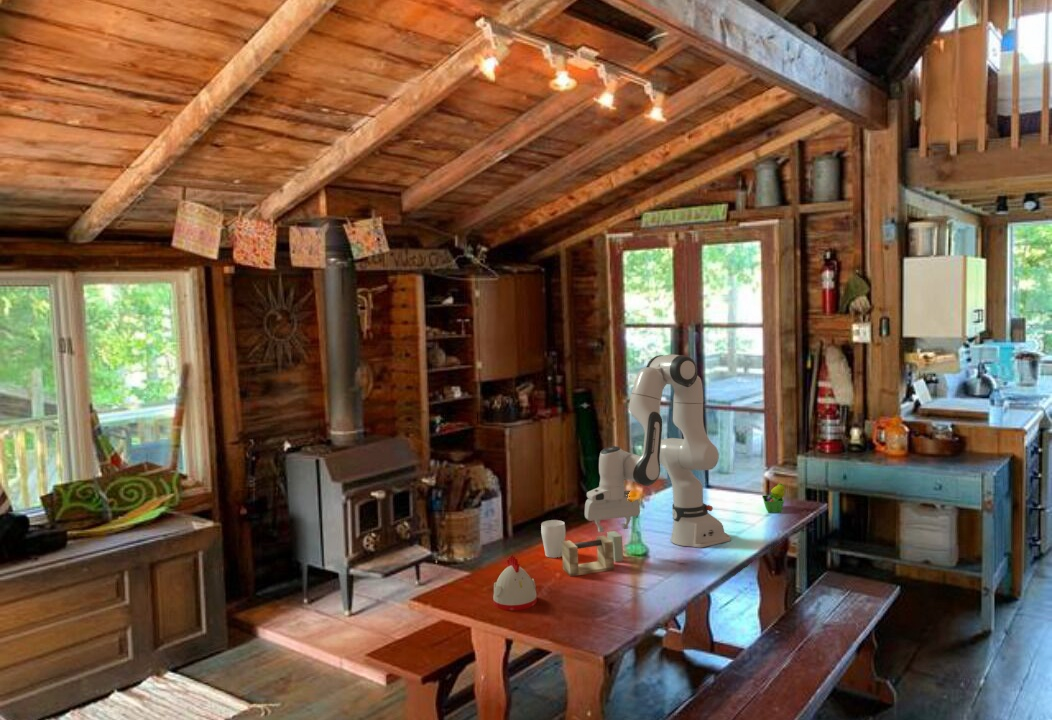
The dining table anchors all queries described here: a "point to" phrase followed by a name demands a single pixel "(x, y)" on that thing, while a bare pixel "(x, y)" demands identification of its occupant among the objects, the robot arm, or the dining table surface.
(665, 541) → the dining table surface
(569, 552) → the wooden frame with rod
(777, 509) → the fruit basket
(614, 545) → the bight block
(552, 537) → the cup
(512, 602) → the kitchen timer
